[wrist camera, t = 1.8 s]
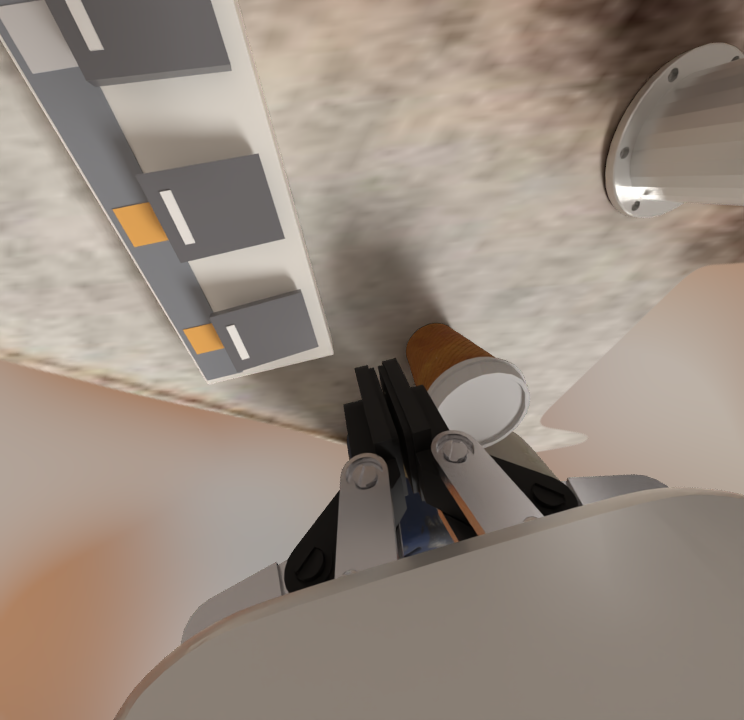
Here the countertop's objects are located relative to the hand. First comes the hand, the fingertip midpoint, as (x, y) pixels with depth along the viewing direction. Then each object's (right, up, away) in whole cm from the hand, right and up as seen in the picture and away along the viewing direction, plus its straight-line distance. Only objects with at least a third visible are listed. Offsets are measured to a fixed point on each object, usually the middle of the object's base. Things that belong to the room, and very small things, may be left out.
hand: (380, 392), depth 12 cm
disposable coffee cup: (+7, +3, +23) cm, 24 cm away
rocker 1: (-12, +19, +2) cm, 22 cm away
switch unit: (-13, +14, +12) cm, 22 cm away
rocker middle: (-10, +11, +7) cm, 17 cm away
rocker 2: (-9, +4, +12) cm, 15 cm away
